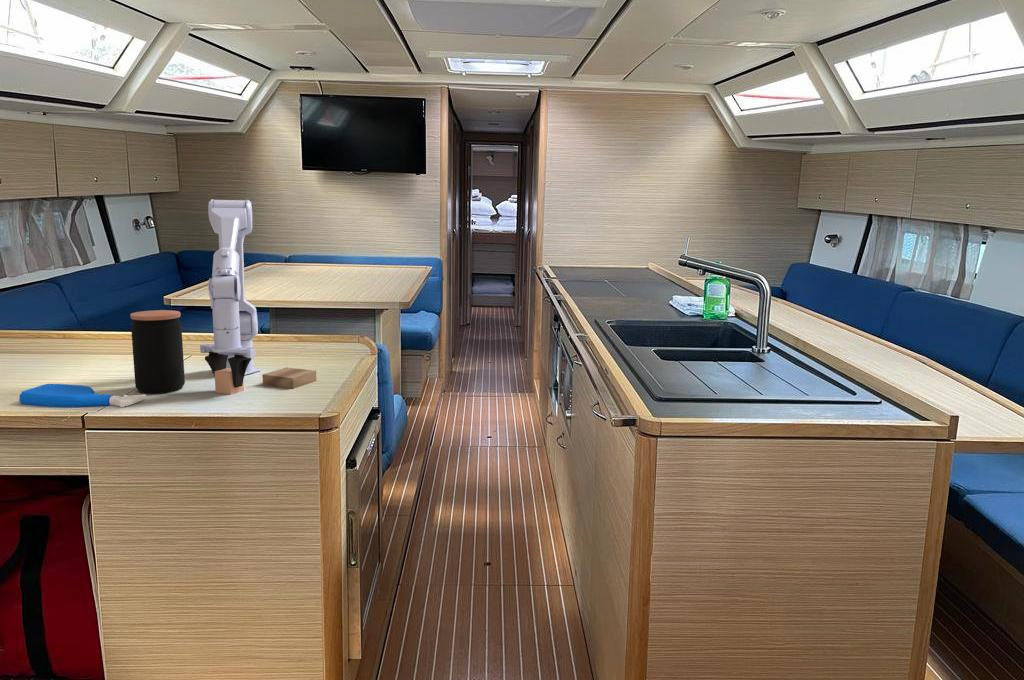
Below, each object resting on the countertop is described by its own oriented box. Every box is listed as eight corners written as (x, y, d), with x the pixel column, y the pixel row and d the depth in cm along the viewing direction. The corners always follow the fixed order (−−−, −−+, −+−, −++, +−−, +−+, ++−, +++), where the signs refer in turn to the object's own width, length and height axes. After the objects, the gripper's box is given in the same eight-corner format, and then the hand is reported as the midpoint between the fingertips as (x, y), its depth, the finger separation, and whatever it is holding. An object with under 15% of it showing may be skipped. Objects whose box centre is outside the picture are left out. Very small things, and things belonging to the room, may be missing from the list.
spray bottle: (13, 393, 165) (119, 400, 161) (50, 381, 175) (150, 388, 172) (14, 406, 165) (120, 414, 162) (51, 394, 176) (151, 401, 173)
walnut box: (262, 386, 187) (262, 374, 186) (286, 378, 195) (286, 367, 194) (293, 390, 183) (292, 378, 183) (316, 382, 191) (316, 370, 191)
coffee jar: (195, 386, 184) (191, 311, 181) (161, 396, 174) (156, 317, 171) (159, 382, 187) (154, 309, 184) (124, 392, 177) (119, 314, 174)
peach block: (215, 392, 178) (214, 371, 177) (229, 388, 182) (228, 367, 181) (230, 394, 177) (229, 373, 176) (243, 390, 181) (243, 369, 180)
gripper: (189, 328, 176) (192, 385, 178) (239, 332, 171) (242, 392, 173) (211, 323, 182) (214, 379, 185) (261, 328, 177) (263, 385, 179)
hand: (229, 385), depth 179 cm, fingers closed on peach block, 4 cm apart
